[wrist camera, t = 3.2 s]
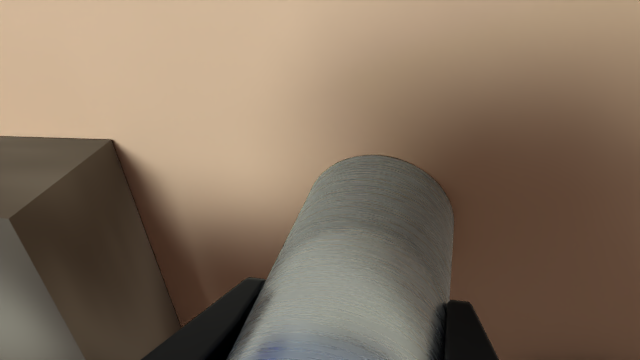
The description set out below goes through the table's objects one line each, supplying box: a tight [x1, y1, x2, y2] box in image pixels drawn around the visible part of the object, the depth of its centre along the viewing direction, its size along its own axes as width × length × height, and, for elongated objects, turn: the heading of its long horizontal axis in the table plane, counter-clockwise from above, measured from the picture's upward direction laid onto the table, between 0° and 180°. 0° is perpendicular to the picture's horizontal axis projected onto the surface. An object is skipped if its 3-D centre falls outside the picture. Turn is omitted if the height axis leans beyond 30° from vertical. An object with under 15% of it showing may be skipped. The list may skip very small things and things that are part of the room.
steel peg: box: [227, 155, 454, 360], centre depth 9 cm, size 4×4×8 cm
